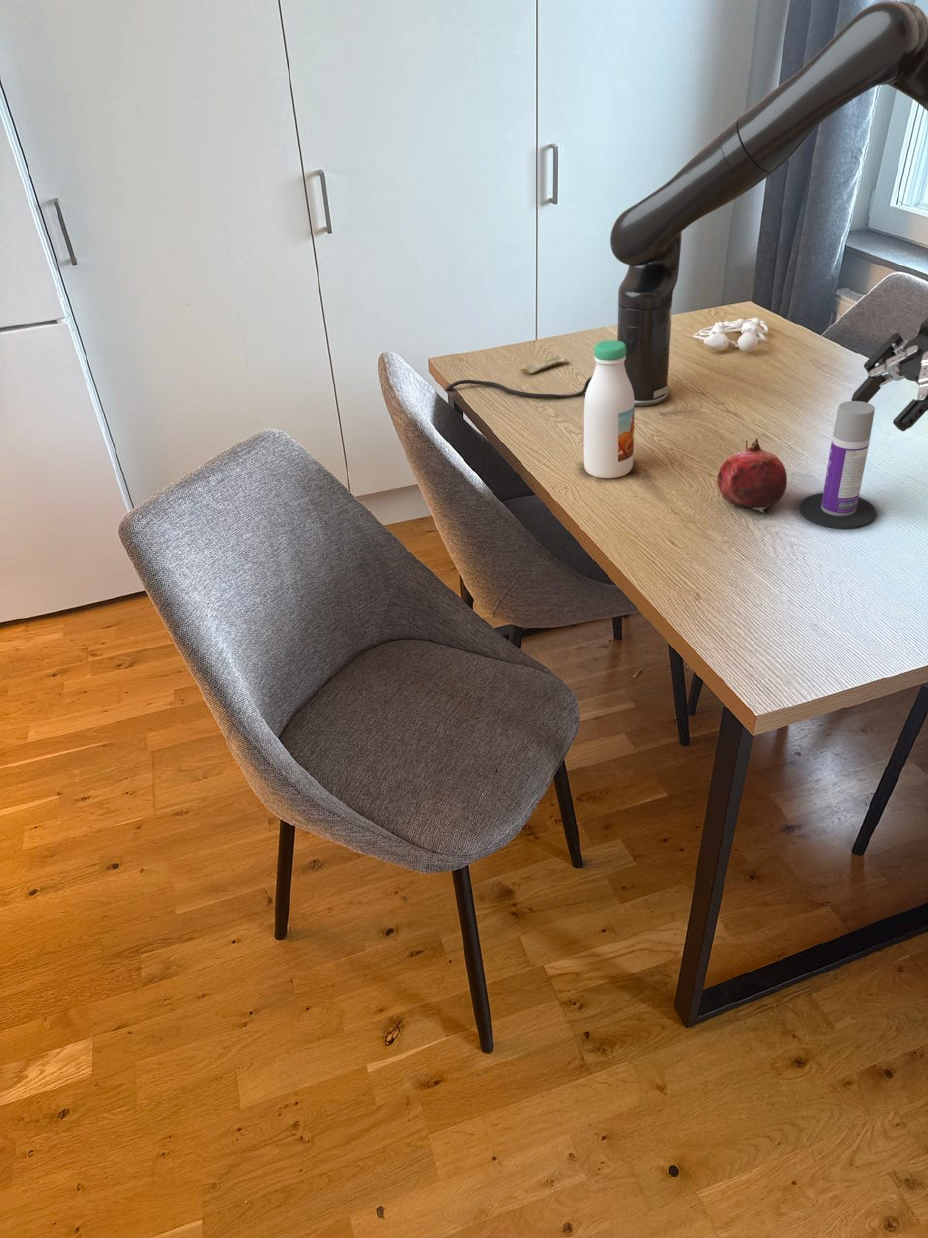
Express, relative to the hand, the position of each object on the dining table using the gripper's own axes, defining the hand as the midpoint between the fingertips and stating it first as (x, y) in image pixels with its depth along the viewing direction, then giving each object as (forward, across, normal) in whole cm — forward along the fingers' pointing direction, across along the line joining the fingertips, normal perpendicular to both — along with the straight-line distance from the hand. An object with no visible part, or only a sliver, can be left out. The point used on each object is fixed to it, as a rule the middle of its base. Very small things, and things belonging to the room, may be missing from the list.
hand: (876, 415), depth 121 cm
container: (+12, 0, +7) cm, 14 cm away
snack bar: (+23, -73, -4) cm, 77 cm away
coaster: (+12, 0, +7) cm, 14 cm away
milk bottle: (+28, -26, -9) cm, 40 cm away
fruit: (+19, -7, +1) cm, 20 cm away
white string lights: (-5, -69, +24) cm, 73 cm away
